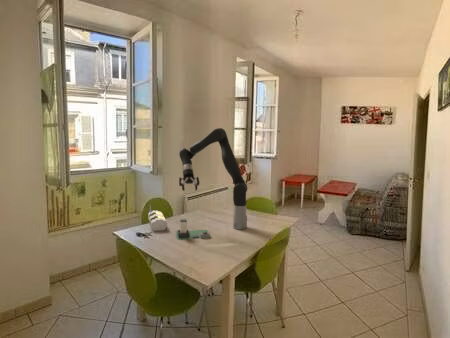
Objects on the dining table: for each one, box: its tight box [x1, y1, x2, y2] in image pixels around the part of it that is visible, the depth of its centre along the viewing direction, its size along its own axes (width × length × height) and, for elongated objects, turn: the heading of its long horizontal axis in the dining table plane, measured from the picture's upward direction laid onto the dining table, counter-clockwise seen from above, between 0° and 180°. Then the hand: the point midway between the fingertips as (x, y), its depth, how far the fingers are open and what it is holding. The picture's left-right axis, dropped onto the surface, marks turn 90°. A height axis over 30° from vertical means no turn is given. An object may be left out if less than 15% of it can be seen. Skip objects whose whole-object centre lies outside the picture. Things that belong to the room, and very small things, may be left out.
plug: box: [179, 218, 188, 233], centre depth 206 cm, size 4×4×11 cm
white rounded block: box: [147, 205, 168, 231], centre depth 233 cm, size 25×10×13 cm, turn 19°
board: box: [174, 228, 212, 241], centre depth 210 cm, size 22×16×4 cm
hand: (190, 190), depth 220 cm, fingers open, 8 cm apart
